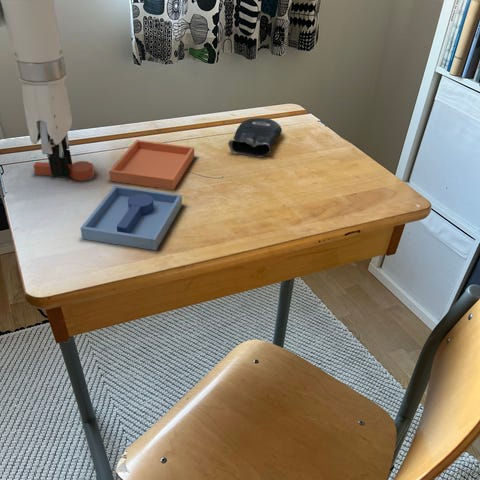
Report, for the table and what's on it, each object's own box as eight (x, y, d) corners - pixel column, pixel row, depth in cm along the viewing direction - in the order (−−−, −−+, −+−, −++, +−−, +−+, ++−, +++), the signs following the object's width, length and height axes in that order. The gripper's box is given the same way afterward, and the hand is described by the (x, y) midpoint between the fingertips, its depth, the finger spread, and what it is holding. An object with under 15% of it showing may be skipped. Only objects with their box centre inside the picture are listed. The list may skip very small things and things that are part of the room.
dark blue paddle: (135, 238, 81) (134, 229, 79) (110, 234, 81) (108, 225, 80) (157, 204, 89) (156, 195, 87) (134, 201, 89) (132, 192, 88)
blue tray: (82, 238, 81) (80, 228, 80) (116, 195, 91) (114, 185, 90) (156, 250, 79) (155, 239, 78) (182, 205, 90) (181, 194, 88)
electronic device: (273, 165, 106) (284, 127, 115) (271, 140, 101) (283, 103, 111) (229, 164, 108) (244, 127, 117) (226, 140, 104) (241, 104, 113)
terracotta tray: (110, 180, 95) (109, 170, 94) (137, 149, 105) (136, 139, 104) (173, 189, 94) (173, 179, 92) (194, 156, 104) (194, 147, 103)
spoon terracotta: (33, 178, 95) (30, 168, 93) (40, 167, 98) (38, 158, 96) (91, 181, 95) (89, 172, 94) (96, 170, 98) (95, 161, 97)
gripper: (33, 53, 89) (55, 153, 102) (0, 83, 78) (29, 192, 90) (77, 55, 89) (93, 155, 102) (49, 86, 78) (71, 195, 90)
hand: (62, 172), depth 96 cm, fingers closed on spoon terracotta, 1 cm apart
